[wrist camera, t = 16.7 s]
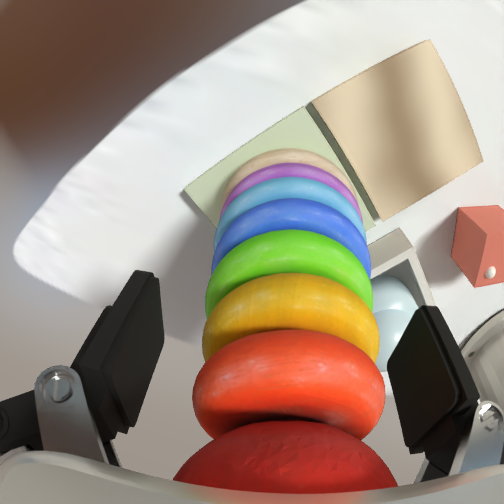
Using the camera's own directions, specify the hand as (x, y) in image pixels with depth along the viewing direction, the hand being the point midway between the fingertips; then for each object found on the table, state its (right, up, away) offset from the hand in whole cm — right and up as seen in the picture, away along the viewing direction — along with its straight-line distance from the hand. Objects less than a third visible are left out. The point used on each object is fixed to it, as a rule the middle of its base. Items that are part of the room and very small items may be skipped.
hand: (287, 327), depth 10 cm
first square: (+8, +10, +6) cm, 14 cm away
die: (+15, +4, +9) cm, 18 cm away
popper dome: (+8, -2, +12) cm, 14 cm away
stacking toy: (+1, +5, +9) cm, 10 cm away
